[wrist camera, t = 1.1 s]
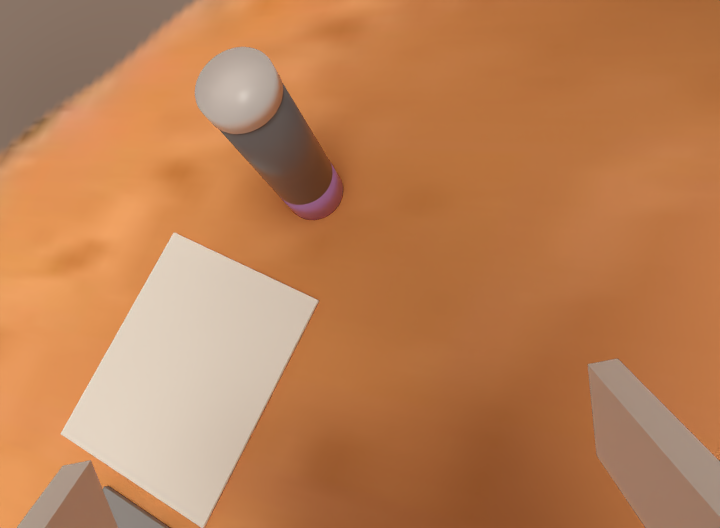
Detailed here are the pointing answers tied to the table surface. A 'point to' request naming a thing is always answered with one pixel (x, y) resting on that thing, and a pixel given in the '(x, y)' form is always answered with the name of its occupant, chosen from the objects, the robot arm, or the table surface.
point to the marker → (268, 130)
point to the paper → (189, 375)
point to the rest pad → (129, 512)
